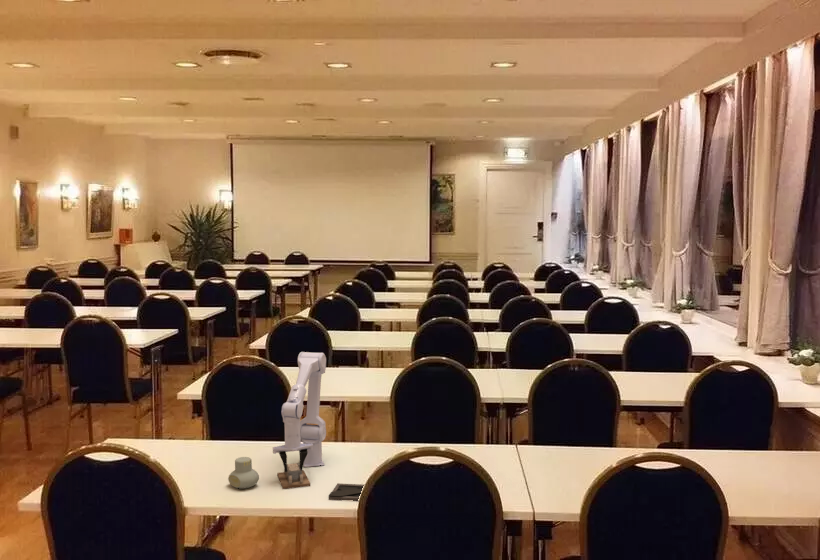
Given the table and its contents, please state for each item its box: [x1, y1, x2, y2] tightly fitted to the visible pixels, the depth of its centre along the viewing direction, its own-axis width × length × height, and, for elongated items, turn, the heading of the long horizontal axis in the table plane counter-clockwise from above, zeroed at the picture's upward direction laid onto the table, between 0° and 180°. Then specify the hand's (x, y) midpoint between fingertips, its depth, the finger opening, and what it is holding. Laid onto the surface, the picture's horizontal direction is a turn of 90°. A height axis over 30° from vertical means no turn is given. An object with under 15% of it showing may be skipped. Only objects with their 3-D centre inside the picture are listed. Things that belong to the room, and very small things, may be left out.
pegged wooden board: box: [277, 469, 311, 490], centre depth 293 cm, size 15×10×4 cm, turn 17°
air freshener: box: [227, 456, 260, 490], centre depth 288 cm, size 11×8×10 cm
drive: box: [285, 462, 303, 483], centre depth 293 cm, size 9×5×4 cm, turn 17°
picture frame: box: [328, 482, 365, 502], centre depth 280 cm, size 13×2×18 cm
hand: (293, 470), depth 293 cm, fingers closed on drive, 5 cm apart
